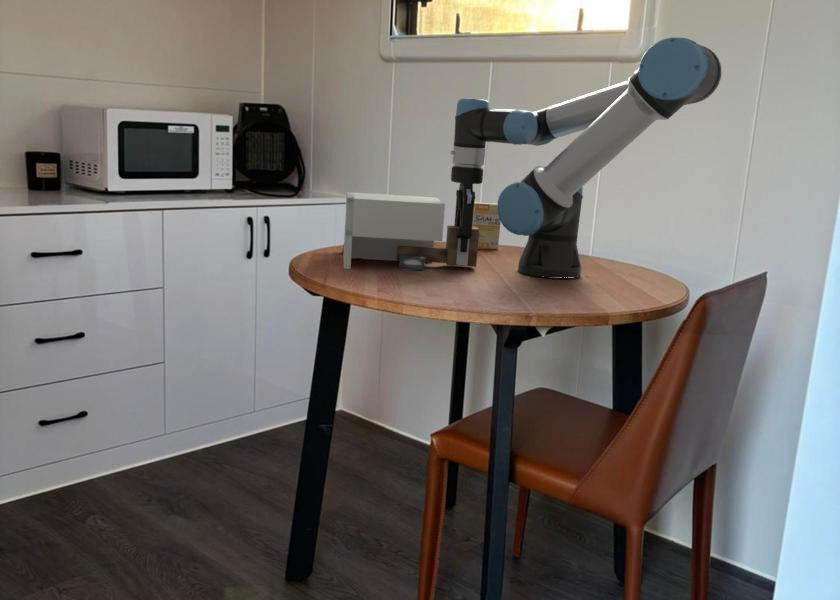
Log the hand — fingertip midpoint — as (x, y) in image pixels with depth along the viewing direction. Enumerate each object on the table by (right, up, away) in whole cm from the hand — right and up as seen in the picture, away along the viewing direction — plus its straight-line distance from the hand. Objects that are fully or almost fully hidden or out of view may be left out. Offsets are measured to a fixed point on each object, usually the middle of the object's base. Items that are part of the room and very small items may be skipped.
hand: (460, 262), depth 193 cm
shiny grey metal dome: (-12, -2, -5) cm, 13 cm away
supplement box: (+8, +6, +35) cm, 37 cm away
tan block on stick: (-6, 0, 0) cm, 6 cm away
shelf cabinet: (-17, -1, -3) cm, 17 cm away
